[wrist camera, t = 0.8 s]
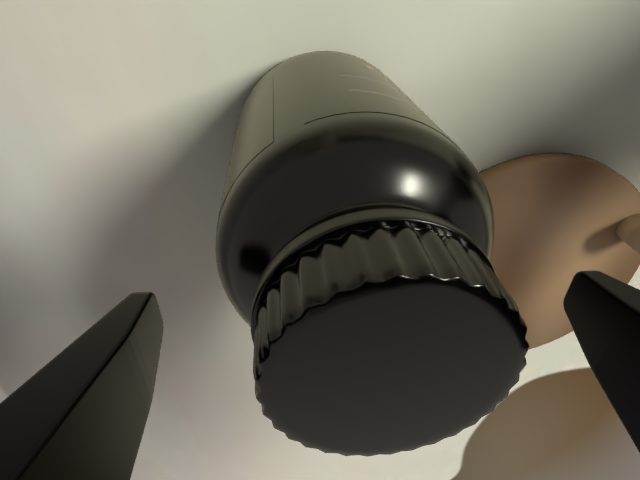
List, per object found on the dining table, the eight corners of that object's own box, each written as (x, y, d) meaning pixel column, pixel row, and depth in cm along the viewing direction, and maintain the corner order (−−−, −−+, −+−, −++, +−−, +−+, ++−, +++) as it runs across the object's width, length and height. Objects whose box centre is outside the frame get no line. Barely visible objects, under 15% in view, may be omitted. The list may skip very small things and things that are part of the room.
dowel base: (679, 149, 19) (731, 174, 17) (583, 335, 25) (611, 370, 23) (417, 157, 18) (435, 184, 16) (389, 348, 25) (400, 385, 22)
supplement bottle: (345, 232, 20) (412, 510, 10) (210, 164, 17) (119, 443, 7) (441, 107, 17) (676, 326, 7) (294, 3, 14) (332, 111, 4)
